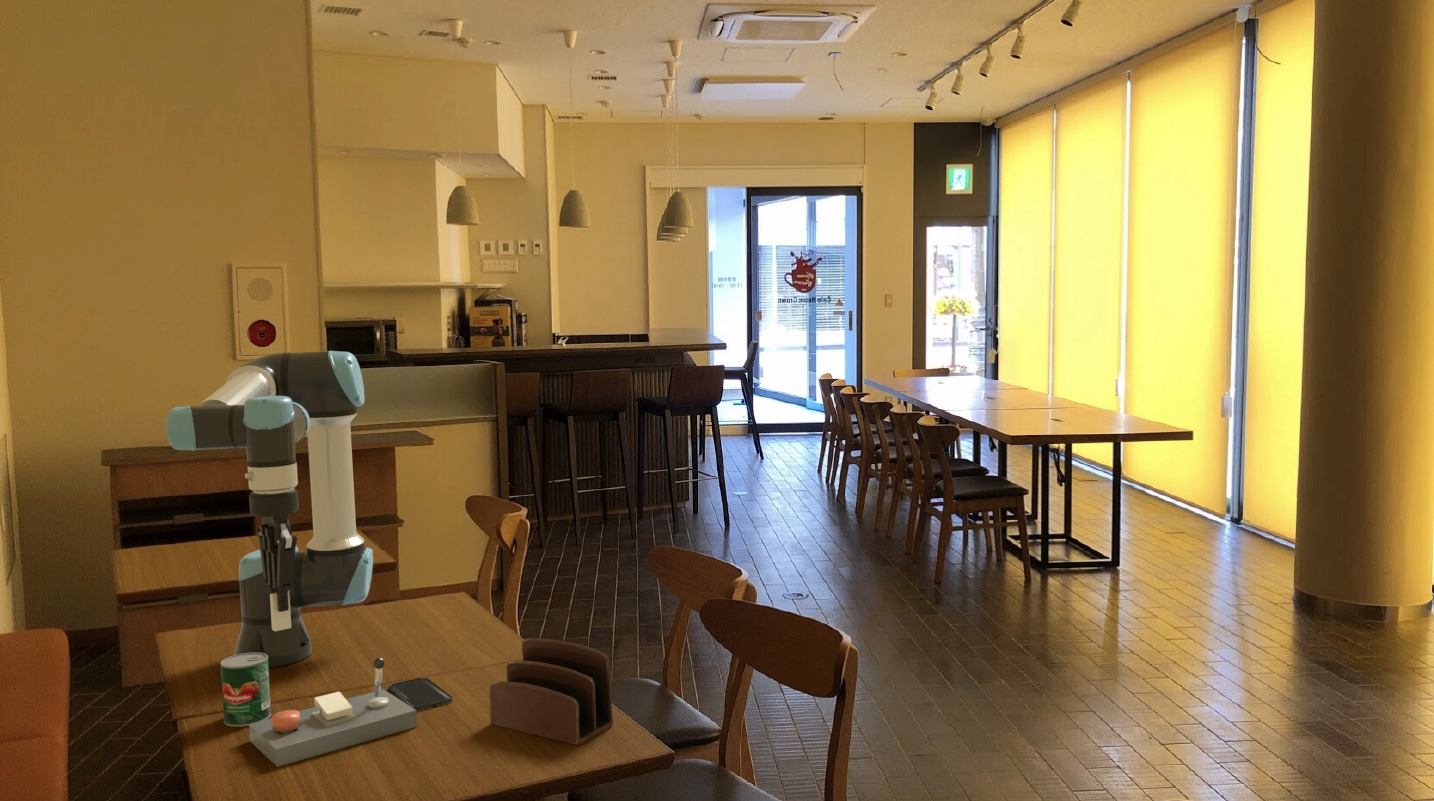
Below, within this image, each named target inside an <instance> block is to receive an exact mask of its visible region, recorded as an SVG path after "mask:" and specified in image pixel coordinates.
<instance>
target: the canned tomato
mask: <svg viewBox="0 0 1434 801" xmlns="http://www.w3.org/2000/svg"><path fill="white" fill-rule="evenodd" d="M219 664H220V676H221V689H222V690H221V692H222V708H223V710H222V711H223V713H222V714H223V725H226V726H228V727H232V728H236V727H237V728H241V727H244V728H245V727H249V724H251V723H255V722H259V721H263V720H267V719H270V717H272V712H271V710H272V709H271V692H270V677H269V676H270V672H269V668H268V655H267V654H264V653H258V652H252V653H243V654H237V655H235V654H234V655H231V656H228V657H225V658H224V659H222V660H221V661H220V663H219Z"/></svg>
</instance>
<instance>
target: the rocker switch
mask: <svg viewBox="0 0 1434 801" xmlns="http://www.w3.org/2000/svg"><path fill="white" fill-rule="evenodd" d="M346 699H347V698H345V697H344V695H343V694H342V693H341V692H340V691H336V692H335V691H334V692H332V693H328V694H324V695H323V694H322V695H319V696H316V697H314V698H313V704H314V707H317V708H318V709H319V711H320V714H322V715H323V716H324V717H325V718H326V720H331V719H334V718H338V717H342V716H346V715H349V714H352V712H353V707H352V706H351V705H350V704H349V702H348V701H347V700H346Z"/></svg>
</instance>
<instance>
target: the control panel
mask: <svg viewBox="0 0 1434 801" xmlns="http://www.w3.org/2000/svg"><path fill="white" fill-rule="evenodd" d="M374 694H375V691H372V692H369V693H365V694H361V695H357V696H352V697H349V698H345V699H346V700H347V701H348V702H349V704H350V705H351V706H352V707H353V712H352V714H349V715H346V716H342V717H338V718H334V719H331V720H326V718H325V717H324V716H323V715H322V714H320V711H319V709H318V708H317V707H316V706H314V707H310V708H307V709H306V708H305V709H303V710H298V711H299V712H300V726H299V727H298V728H296V729H293V732H289V733H285V734H282V735H280V732H278V731H274V730H273V729H272V717H271V718H268V719H267V720H263V721H259V722H255V723H251V724H249V726H248V731H249V732H248V733H249V734H248V735H249V742H250V743H251V744H252V745H253V746H254V747H256V749H257V750H259V751H260V752H261V753H262V754H263V756H265V757H266V758H267V759H268V760H269V761H270V762H271V763H272V764H274V765H275V767H276V768H279V767H283V766H286V765H289V764H292V763H296V762H301V761H303V760H307V759H310V758H314V757H317V756H320V755H323V754H324V755H325V754H326V753H327V754H328V753H331V752H335V751H339V750H341V749H345V748H348V747H351V746H355V745H359V744H362V743H365V742H369V741H374V740H375V739H376V740H377V739H380V738H383V737H386V736H391V735H393V734H396V733H397V734H398V733H401V732H403V731H407V730H411V729H414V728H418V716H417V715H418V714H417V713H418V712H417V711H416V710H415V709H414V708H412V707H410V706H409V705H407V704H406V703H404V702H403V701H401V700H400V699H398V698H397V697H395V696H394V695H393V694H392V693H391V692H389V691H387V690H386V689H382V695H381V697H375V696H374Z"/></svg>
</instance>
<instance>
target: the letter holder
mask: <svg viewBox="0 0 1434 801" xmlns="http://www.w3.org/2000/svg"><path fill="white" fill-rule="evenodd" d="M521 652H522V660H510V661H508V662H507V664H506V681H505V680H502V681H493V682H492V683H491V684H490V686H489V702H490V703H489V706H490V707H489V710H490V712H489V713H490V715H489V716H490V717H489V718H490V724H491V725H492V726H497V727H501V728H505V729H509V730H513V731H518V732H520V733H521V732H522V733H523V734H529V735H533V736H537V737H542V738H545V739H549V740H553V741H557V742H561V743H566V744H569V745H573V746H577V747H579V746H581V745H583V744H585V743H586V742H588V741H589V739H590V740H591V739H593V738H595V737H597V736H598V735H599V734H602V733H603V732H605V731H607V730H609V729H610V728H613V724H614V718H613V705H612V704H613V703H612V684H611V683H612V682H611V671H610V669H611V668H610V659H609V656H608V655H607V653H605V652H603V651H602V650H597V649H595V648H592V647H590V646H586V645H582V644H579V643H578V644H577V643H574V642H569V641H563V640H556V639H548V638H535V637H534V638H531V637H530V638H524V639H523V640H522V642H521ZM594 736H595V737H594Z"/></svg>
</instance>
